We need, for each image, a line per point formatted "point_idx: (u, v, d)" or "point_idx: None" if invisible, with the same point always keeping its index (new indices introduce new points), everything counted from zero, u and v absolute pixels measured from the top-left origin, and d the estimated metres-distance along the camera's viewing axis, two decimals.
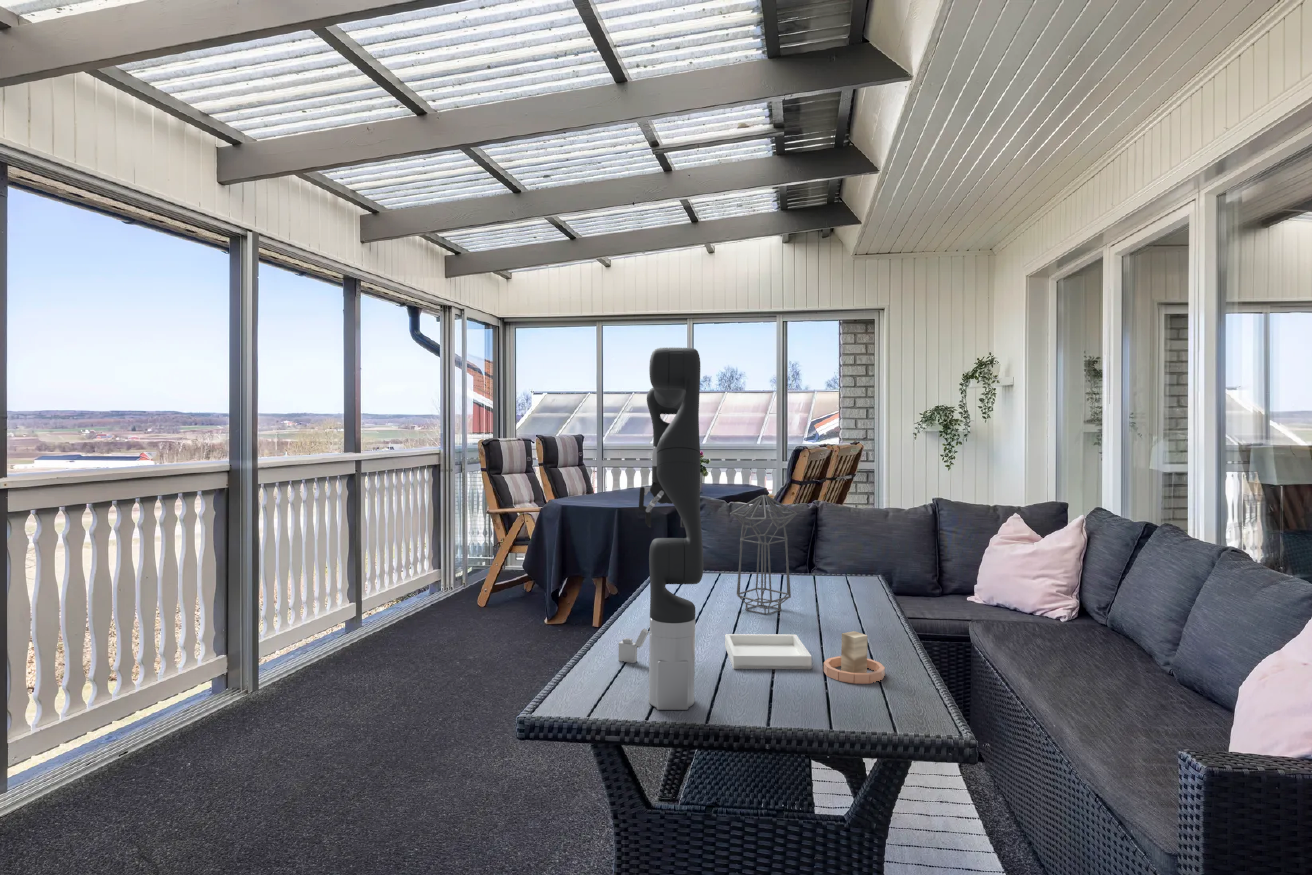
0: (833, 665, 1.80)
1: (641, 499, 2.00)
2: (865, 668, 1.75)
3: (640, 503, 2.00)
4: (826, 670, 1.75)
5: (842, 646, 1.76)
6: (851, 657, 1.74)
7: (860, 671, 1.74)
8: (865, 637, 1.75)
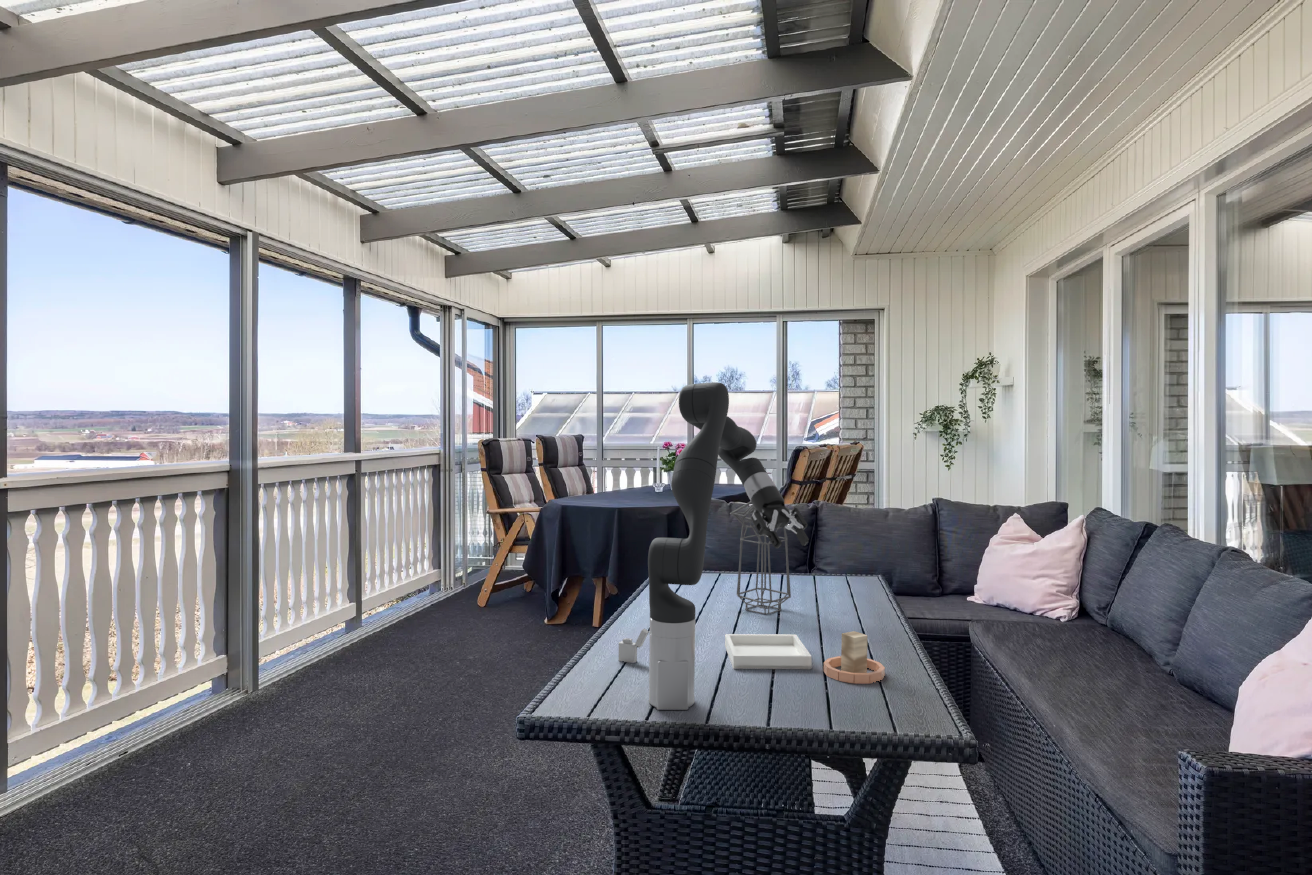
0: (833, 665, 1.80)
1: (761, 520, 1.90)
2: (865, 668, 1.75)
3: (762, 523, 1.90)
4: (826, 670, 1.75)
5: (842, 646, 1.76)
6: (851, 656, 1.74)
7: (860, 671, 1.74)
8: (865, 637, 1.75)
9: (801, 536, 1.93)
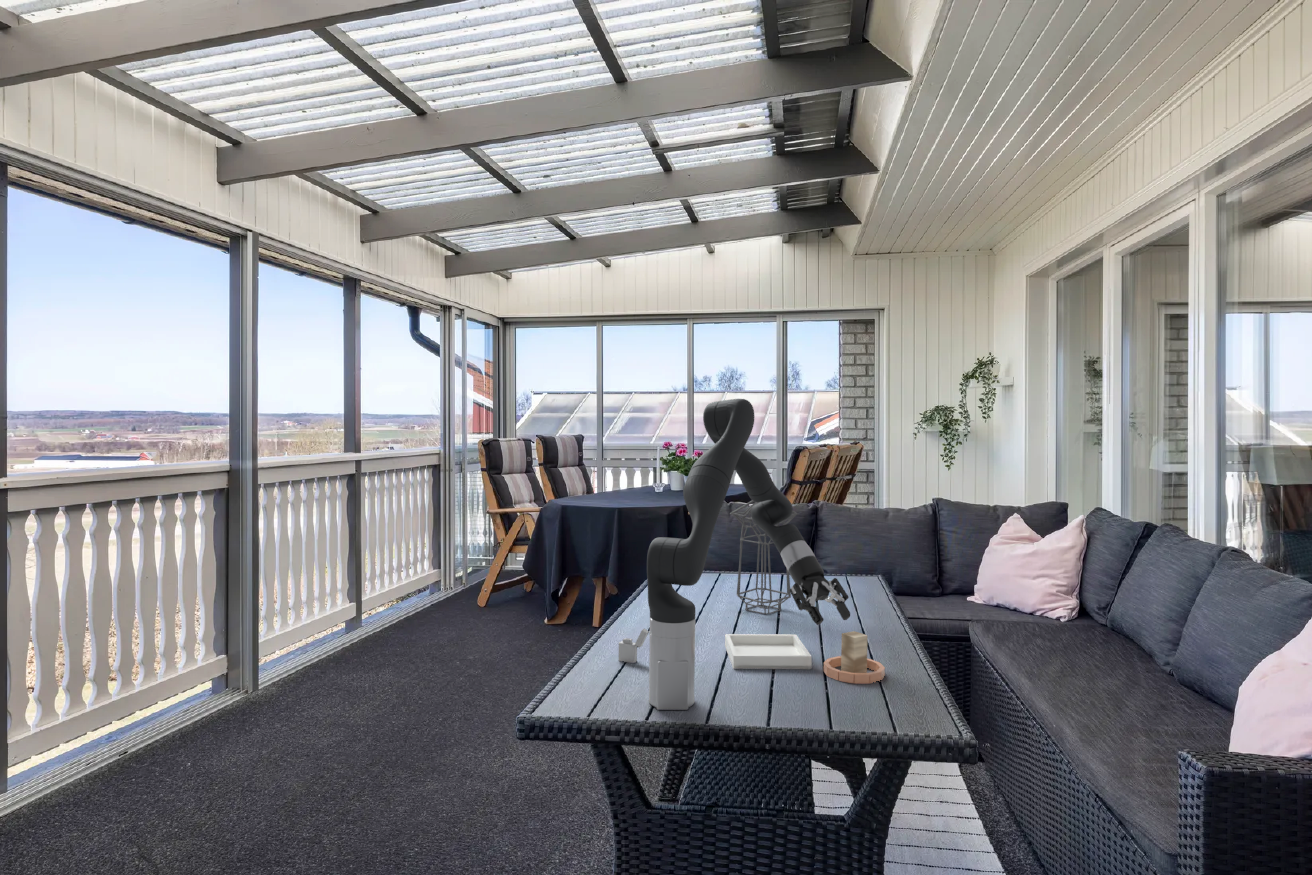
0: (833, 665, 1.80)
1: (801, 594, 1.82)
2: (865, 668, 1.75)
3: (802, 598, 1.81)
4: (826, 670, 1.75)
5: (842, 646, 1.76)
6: (851, 656, 1.74)
7: (860, 671, 1.74)
8: (865, 637, 1.75)
9: (842, 610, 1.85)
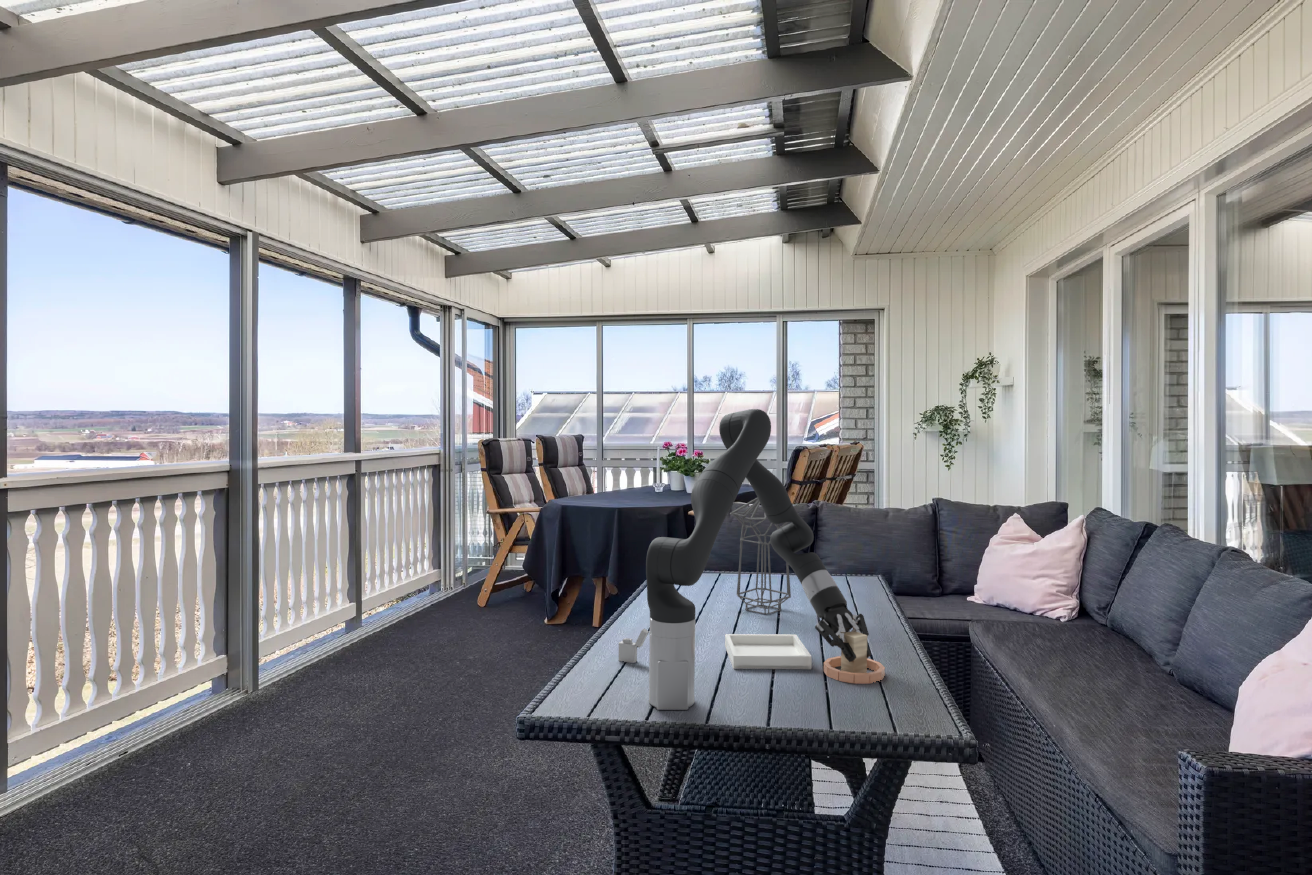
0: (833, 665, 1.80)
1: (830, 631, 1.75)
2: (865, 668, 1.75)
3: (833, 635, 1.75)
4: (826, 670, 1.75)
5: None
6: None
7: (860, 671, 1.75)
8: (865, 637, 1.75)
9: None
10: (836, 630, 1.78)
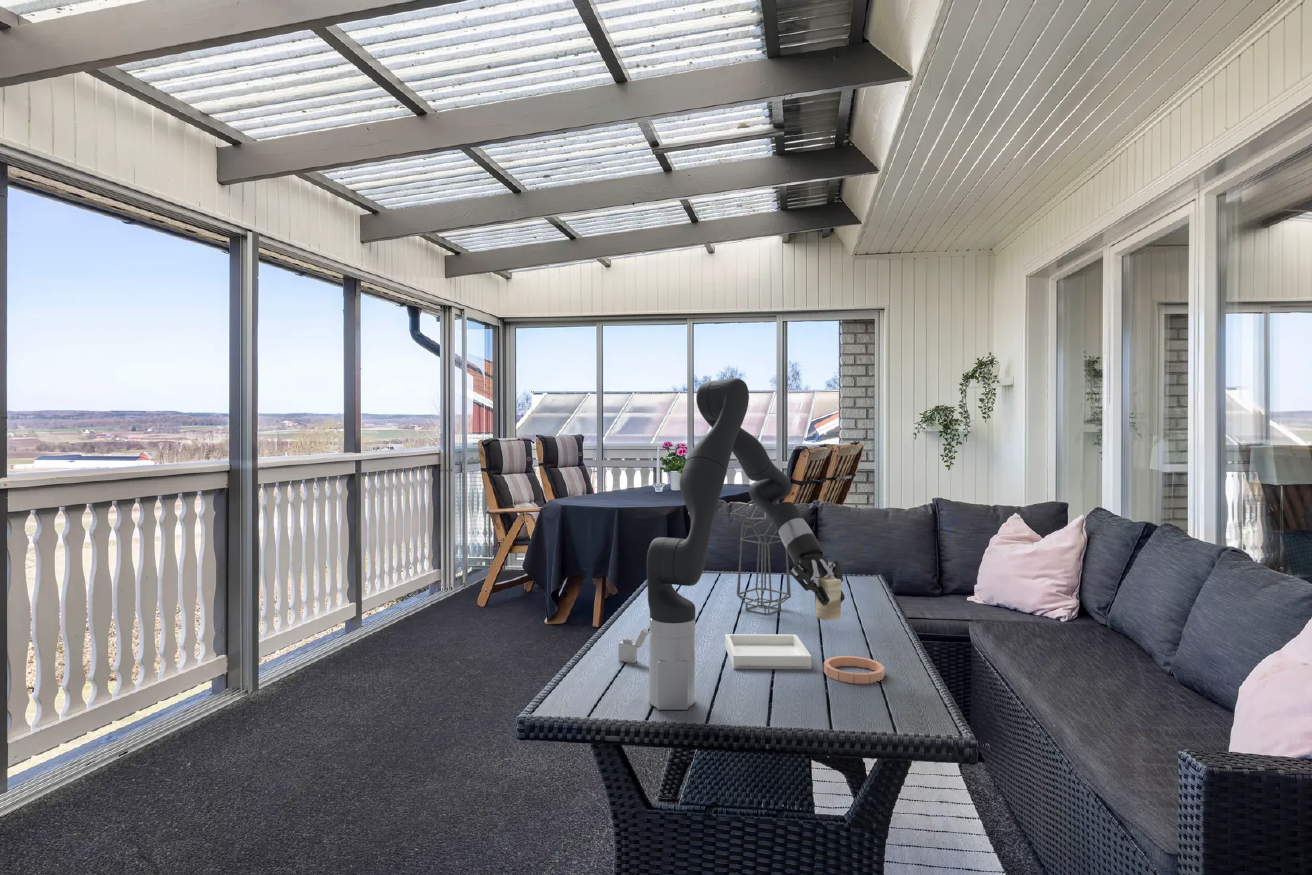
0: (833, 665, 1.80)
1: (805, 575, 1.78)
2: (839, 612, 1.78)
3: (807, 579, 1.77)
4: (826, 670, 1.75)
5: None
6: None
7: (834, 615, 1.77)
8: (839, 581, 1.78)
9: None
10: (811, 575, 1.81)
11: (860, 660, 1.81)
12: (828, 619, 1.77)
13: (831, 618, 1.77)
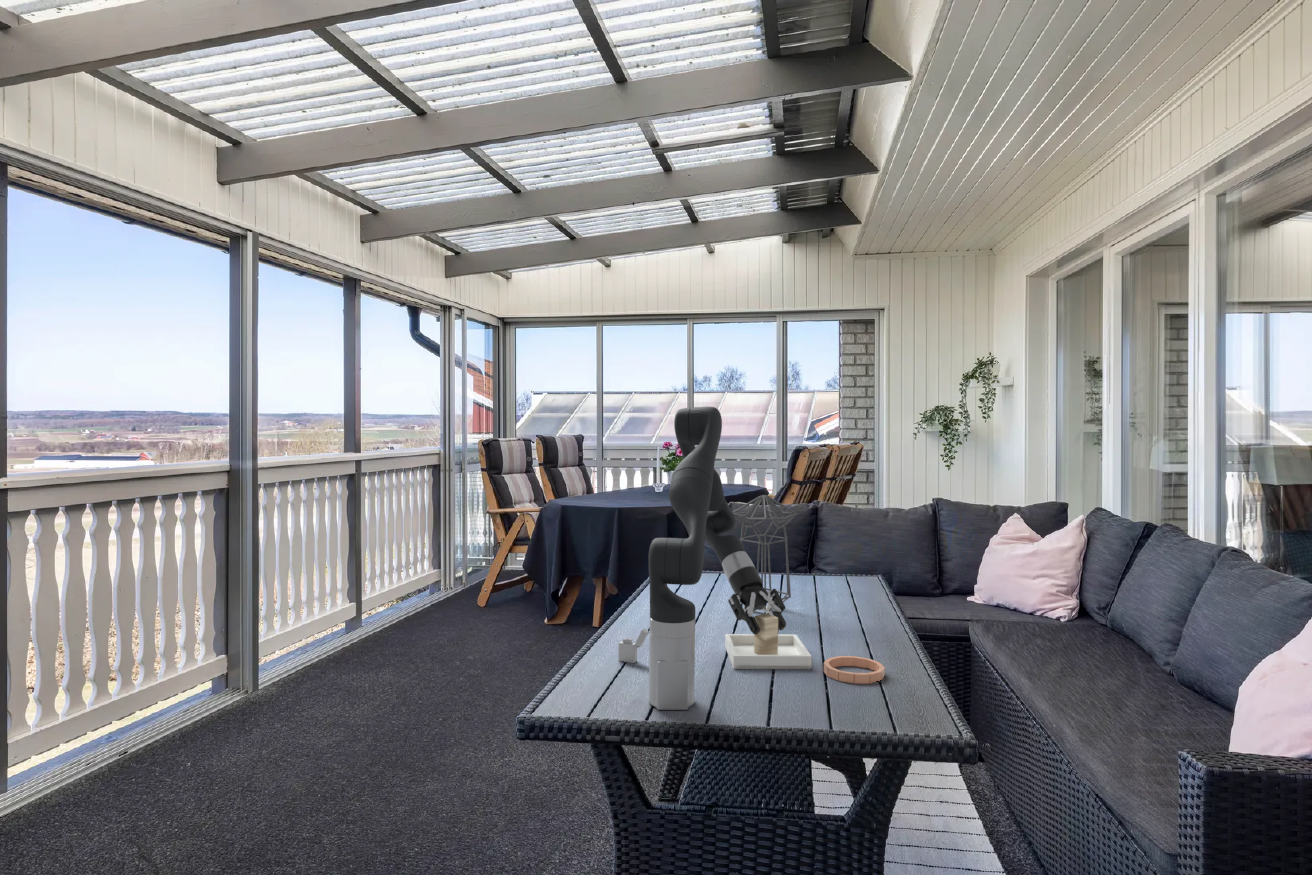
0: (833, 665, 1.80)
1: (739, 605, 1.87)
2: (776, 648, 1.87)
3: (740, 609, 1.86)
4: (826, 670, 1.75)
5: None
6: (762, 637, 1.86)
7: (771, 651, 1.86)
8: (776, 619, 1.87)
9: (778, 620, 1.89)
10: (747, 606, 1.89)
11: (860, 660, 1.81)
12: None
13: (768, 654, 1.86)
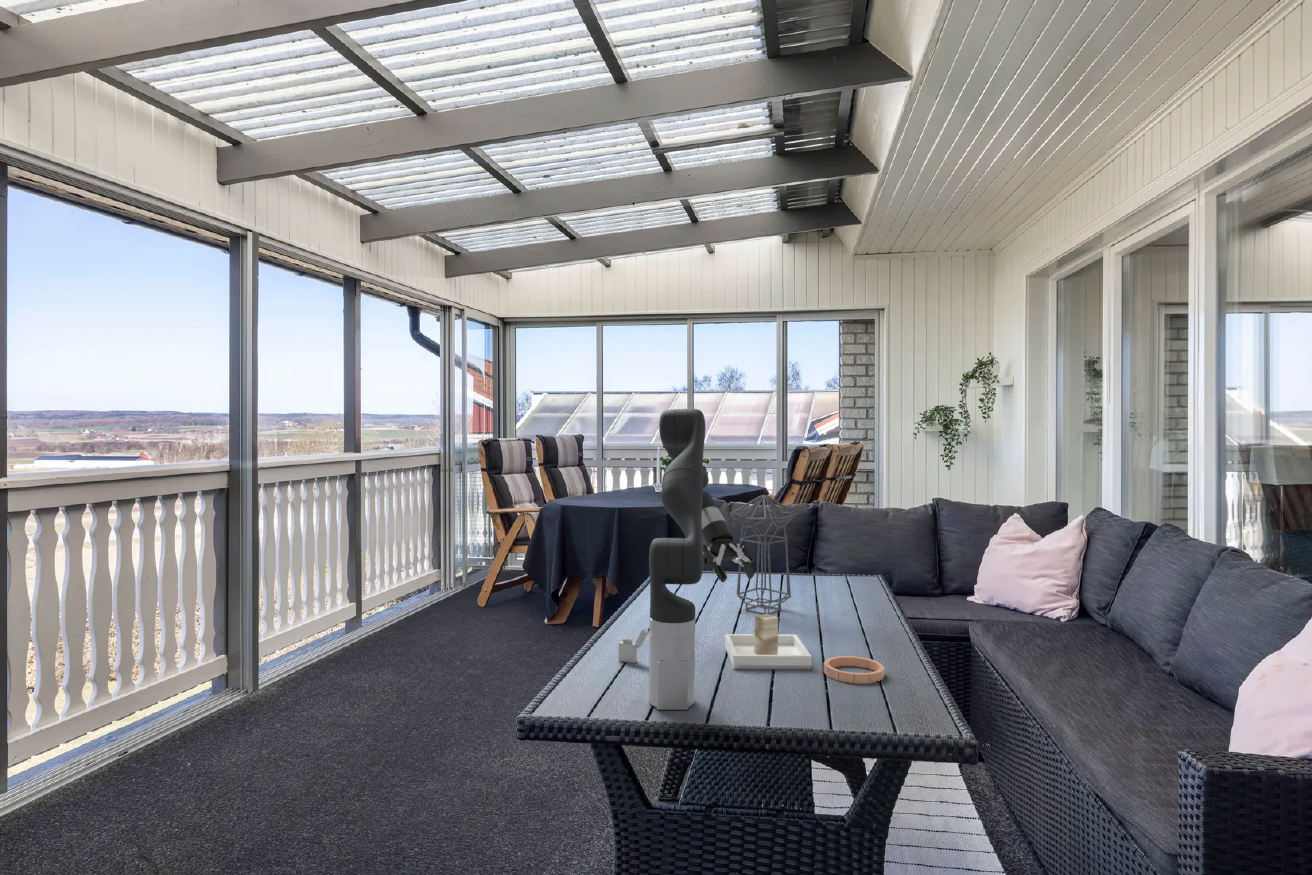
0: (833, 665, 1.80)
1: (708, 554, 1.98)
2: (776, 648, 1.87)
3: (709, 558, 1.97)
4: (826, 670, 1.75)
5: (755, 628, 1.88)
6: (762, 637, 1.86)
7: (771, 651, 1.86)
8: (776, 619, 1.87)
9: (747, 569, 2.00)
10: (717, 556, 2.00)
11: (860, 660, 1.81)
12: None
13: (768, 654, 1.86)
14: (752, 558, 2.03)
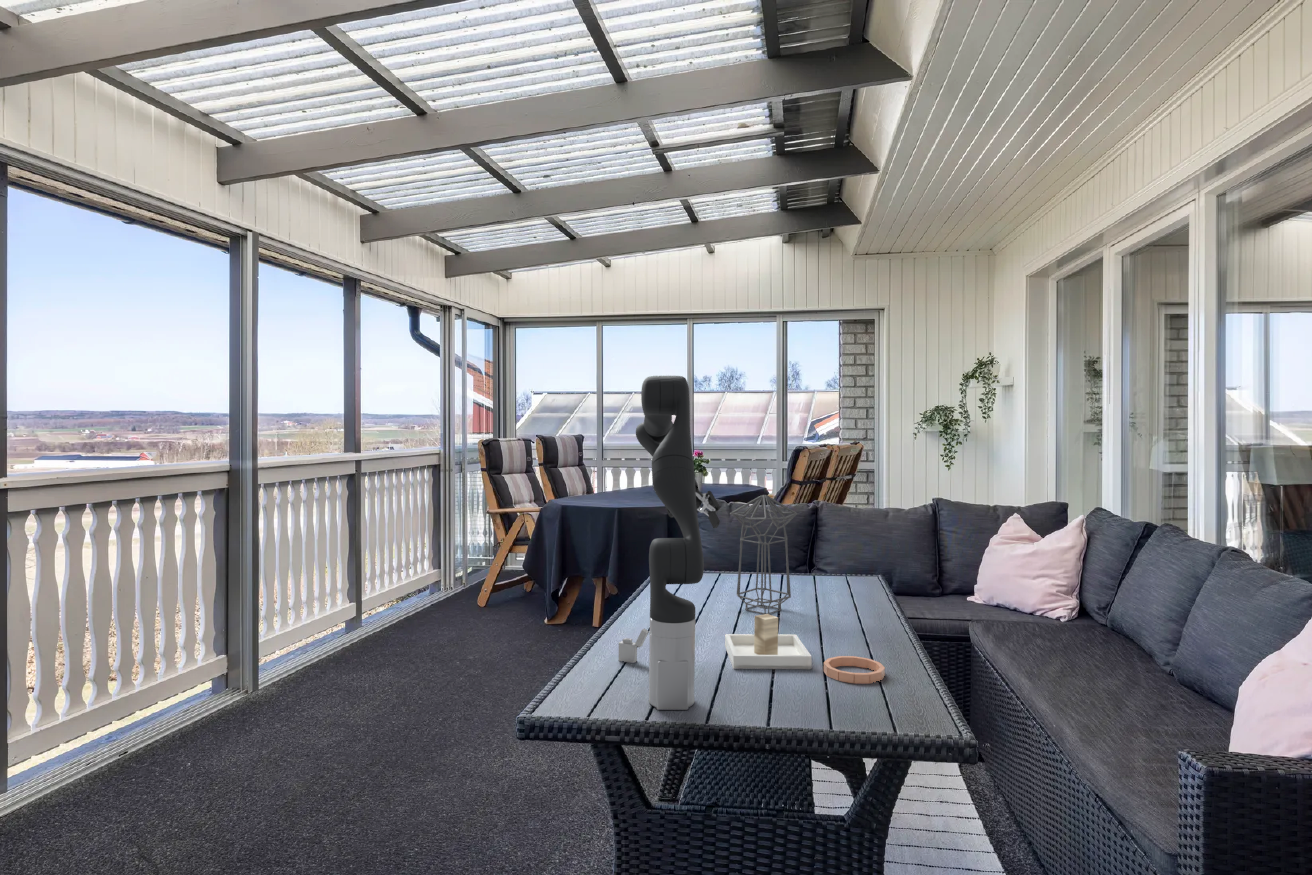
0: (833, 665, 1.80)
1: None
2: (776, 648, 1.87)
3: None
4: (826, 670, 1.75)
5: (755, 628, 1.88)
6: (762, 637, 1.86)
7: (771, 651, 1.86)
8: (776, 619, 1.87)
9: (712, 519, 1.95)
10: None
11: (860, 660, 1.81)
12: None
13: (768, 654, 1.86)
14: (718, 507, 1.97)
